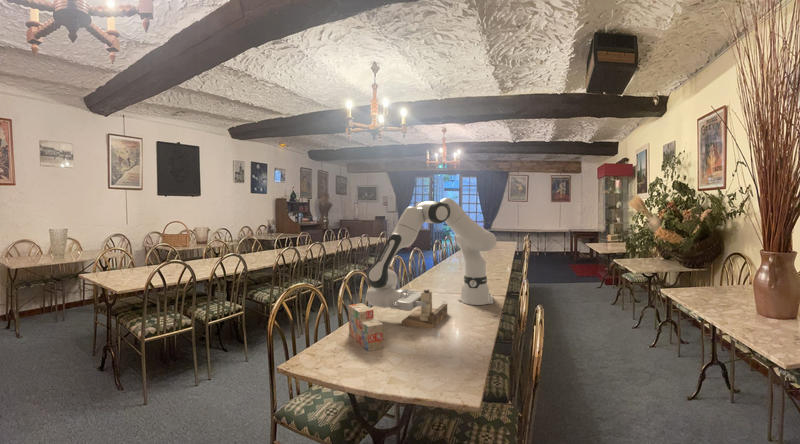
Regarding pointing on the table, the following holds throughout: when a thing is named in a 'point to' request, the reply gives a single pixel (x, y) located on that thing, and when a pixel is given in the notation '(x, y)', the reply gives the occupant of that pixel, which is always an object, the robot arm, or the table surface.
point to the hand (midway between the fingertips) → (428, 302)
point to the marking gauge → (427, 309)
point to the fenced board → (418, 322)
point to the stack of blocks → (365, 327)
